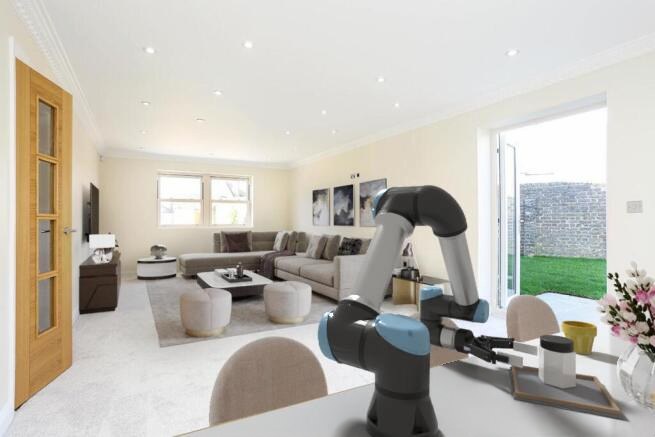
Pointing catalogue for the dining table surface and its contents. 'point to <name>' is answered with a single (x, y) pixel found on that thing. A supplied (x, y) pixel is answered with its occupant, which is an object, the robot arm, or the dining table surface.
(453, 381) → the dining table surface
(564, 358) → the jar
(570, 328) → the plant pot
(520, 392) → the square tray
